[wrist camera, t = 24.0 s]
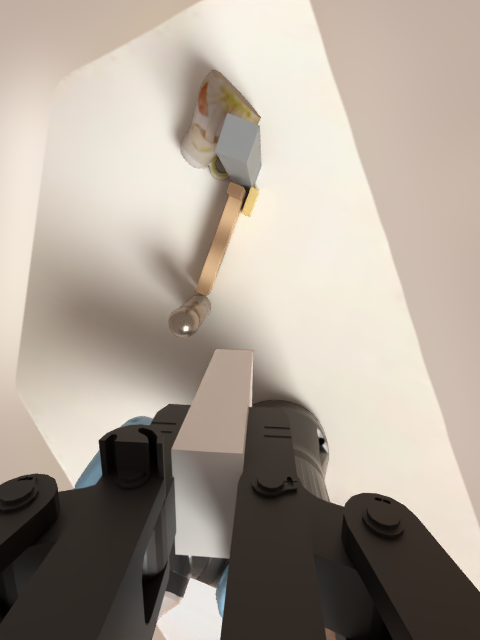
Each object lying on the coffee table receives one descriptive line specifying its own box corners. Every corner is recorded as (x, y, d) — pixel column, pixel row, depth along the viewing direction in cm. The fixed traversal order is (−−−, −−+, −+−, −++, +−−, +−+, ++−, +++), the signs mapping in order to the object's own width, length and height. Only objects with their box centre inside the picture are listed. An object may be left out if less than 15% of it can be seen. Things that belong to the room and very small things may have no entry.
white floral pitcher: (167, 152, 42) (160, 77, 32) (227, 119, 45) (237, 41, 35) (203, 195, 41) (206, 131, 32) (262, 159, 44) (281, 90, 34)
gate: (210, 292, 45) (202, 300, 39) (199, 288, 45) (189, 295, 39) (246, 194, 42) (243, 187, 36) (234, 189, 42) (230, 181, 36)
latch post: (250, 216, 43) (242, 205, 28) (223, 206, 43) (202, 189, 28) (268, 168, 41) (270, 129, 27) (240, 157, 41) (227, 112, 27)
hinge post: (206, 321, 47) (190, 346, 36) (184, 313, 47) (160, 334, 36) (214, 299, 46) (200, 317, 35) (191, 290, 46) (170, 306, 35)
